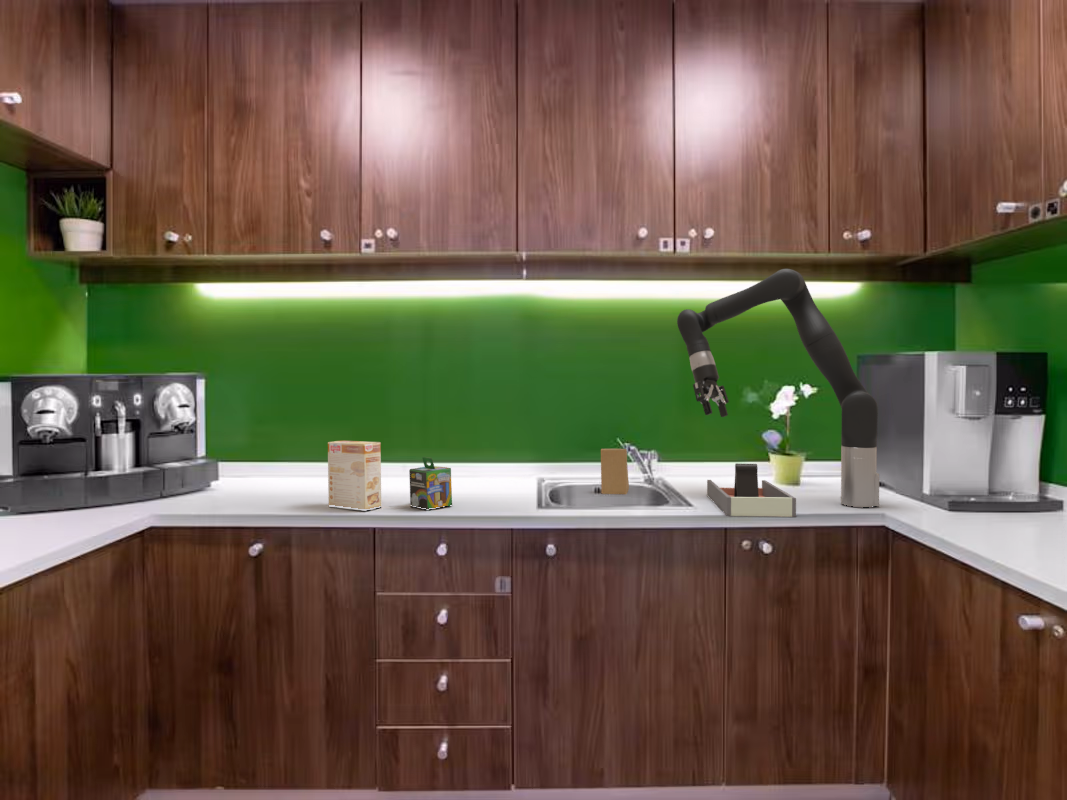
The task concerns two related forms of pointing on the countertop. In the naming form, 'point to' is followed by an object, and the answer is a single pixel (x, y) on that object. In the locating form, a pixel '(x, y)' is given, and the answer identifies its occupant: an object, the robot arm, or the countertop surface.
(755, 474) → the door stopper
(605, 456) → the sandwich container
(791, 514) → the open storage tray
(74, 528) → the countertop surface
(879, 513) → the countertop surface
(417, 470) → the chalk box
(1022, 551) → the countertop surface
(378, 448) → the coffeecake box
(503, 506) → the countertop surface
